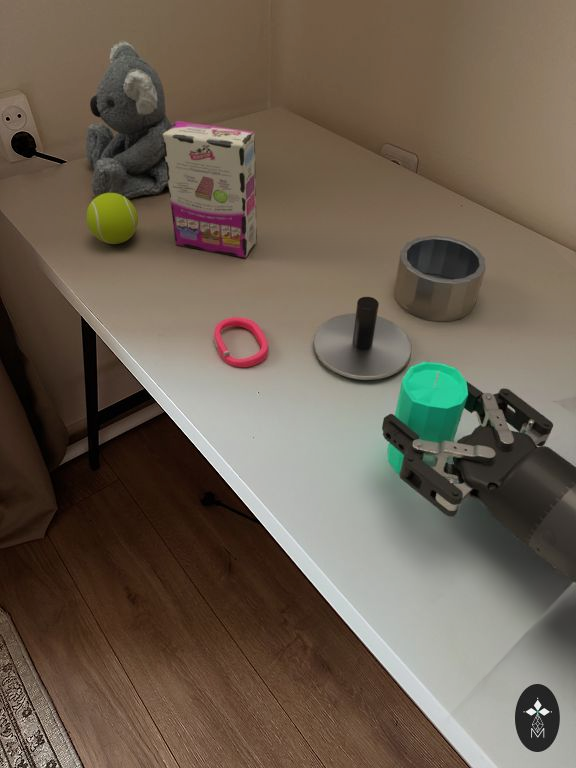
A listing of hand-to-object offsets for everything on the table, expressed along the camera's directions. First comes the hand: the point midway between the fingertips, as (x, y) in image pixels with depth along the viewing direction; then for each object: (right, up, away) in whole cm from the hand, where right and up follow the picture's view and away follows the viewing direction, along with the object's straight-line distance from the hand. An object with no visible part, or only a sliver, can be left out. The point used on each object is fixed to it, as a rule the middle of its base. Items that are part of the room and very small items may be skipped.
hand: (417, 401), depth 61 cm
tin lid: (-4, +6, +15) cm, 17 cm away
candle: (+1, -6, +4) cm, 7 cm away
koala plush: (-36, +36, +46) cm, 69 cm away
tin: (+7, +13, +24) cm, 28 cm away
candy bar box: (-23, +22, +32) cm, 45 cm away
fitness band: (-18, +6, +16) cm, 25 cm away
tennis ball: (-37, +23, +32) cm, 54 cm away
